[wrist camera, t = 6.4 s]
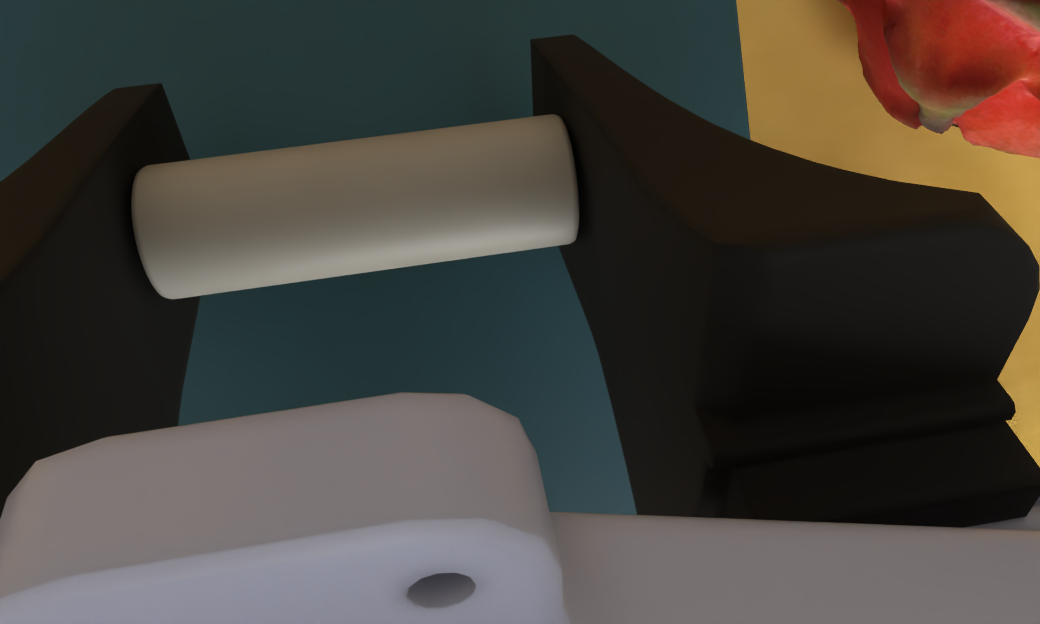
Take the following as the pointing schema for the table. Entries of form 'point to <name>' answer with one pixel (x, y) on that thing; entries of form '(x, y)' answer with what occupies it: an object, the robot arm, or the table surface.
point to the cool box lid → (371, 193)
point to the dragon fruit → (956, 66)
